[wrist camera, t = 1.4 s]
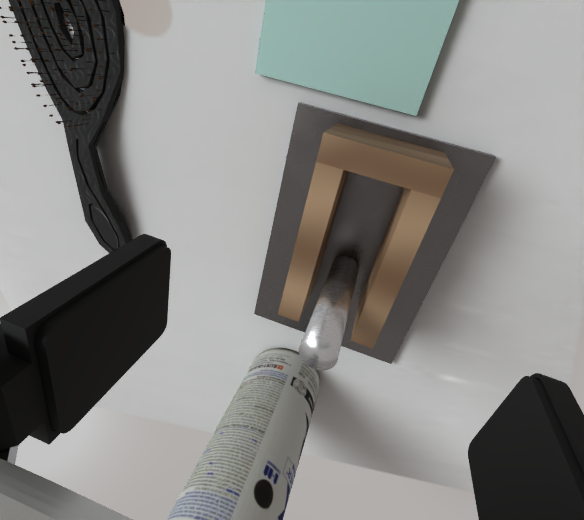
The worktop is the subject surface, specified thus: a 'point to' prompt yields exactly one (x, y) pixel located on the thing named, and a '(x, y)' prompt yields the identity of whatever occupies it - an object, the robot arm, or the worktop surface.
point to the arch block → (400, 233)
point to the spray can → (254, 444)
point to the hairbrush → (72, 101)
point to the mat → (356, 47)
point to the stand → (358, 240)
